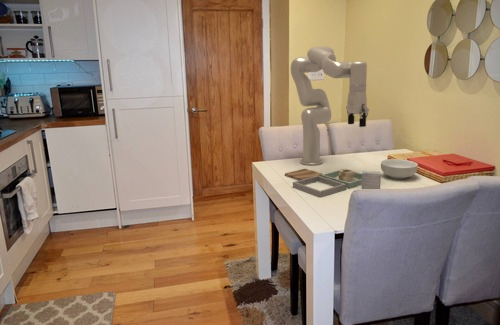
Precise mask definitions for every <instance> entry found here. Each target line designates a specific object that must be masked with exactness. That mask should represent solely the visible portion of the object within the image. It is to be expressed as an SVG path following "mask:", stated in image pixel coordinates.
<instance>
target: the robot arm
mask: <svg viewBox="0 0 500 325" xmlns="http://www.w3.org/2000/svg"><path fill="white" fill-rule="evenodd" d="M367 69H368V64H367V62H366V61H337V58H336V55H335V52H334V49H333V48H332V47H330V46H313V47H311V48H309V50H308V51H307V54H306V56H300V57H299V56H298V57H295V58H294V59H293V60H292V61H291V64H290V76H291V77H292V80H293V82H294V84H295V87H296V91H297V96H298V99H299V103H300V105H301V106H302V107H307V108H305V109H304V110H302V112H301V115H300V118H301V124H302V138H303V139H302V151H303V152H302V153H301V154H300V155H299V158H301V159H300V164H301V165H305V166H318V165H319V166H320V165H321V164H323V163H324V162H323V161H324V160H322V159H321V157H320V156H321V132H320V129H319V127H318V125H322V124H327V123H329V122H330V121H331V119H332V111H331V106H330V102H329V100H328V95H327V93H326V91H325V90H324V89H322V88H313V86H312V82H311V79H310V78H309V77H308V75H306V73H317V72H320V71H322V72H323V73H324V74H325V75H326V76H329V77H331V78H333V79H349V86H348V87H349V89H348V95H347V102H346V113H347V125H355V115H359V117H360V118H359V126H358V127H360V128H366V126H367V118H368V116H369V111H370V109H369V108H368V107H367V106H368V103H367V102H368V101H367V100H368V98H367V93H366V92H367V71H368V70H367Z"/></svg>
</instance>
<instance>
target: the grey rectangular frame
mask: <svg viewBox="0 0 500 325" xmlns="http://www.w3.org/2000/svg"><path fill="white" fill-rule="evenodd" d="M316 182H317V183H318V182H319V183H321V184H325V185H327V186H331V187H329V188H326V189H325V188H324V189H322V190H320V189H317V188H313V187H311V186H308V185H309V184H314V183H316ZM292 188H293V189H297V190H299V191H302V192H305V193H308V194H309V195H312V196H316V197H319V198H322V197H326V196H329V195H332V194H335V193H339V192H342V191H345V190H347V188H346V184H344V183H340V182H337V181H334V180H331V179H327V178H324V177H321V176H314V177H311V178H307V179H303V180H296V181H293V182H292Z"/></svg>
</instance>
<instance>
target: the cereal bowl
mask: <svg viewBox="0 0 500 325" xmlns="http://www.w3.org/2000/svg"><path fill="white" fill-rule="evenodd" d="M418 166H419V165H418V163H417V162H415V161H412V160H407V159H402V158H401V159H399V158H387V159H384V160H381V162H380V168H381V171H382V172H383V173H384V175H387V176H389V177H390V178H392V179H396V180H398V179H399V180H404V179H406V178H409V177H413V176H414V175H415V174H416V173H417V172H418Z"/></svg>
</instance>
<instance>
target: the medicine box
mask: <svg viewBox="0 0 500 325" xmlns="http://www.w3.org/2000/svg"><path fill="white" fill-rule="evenodd" d="M361 174H362V185H361V189H380V190H381V182H382V180H381V179H382V172H381V171H379V170H362V173H361Z"/></svg>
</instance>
